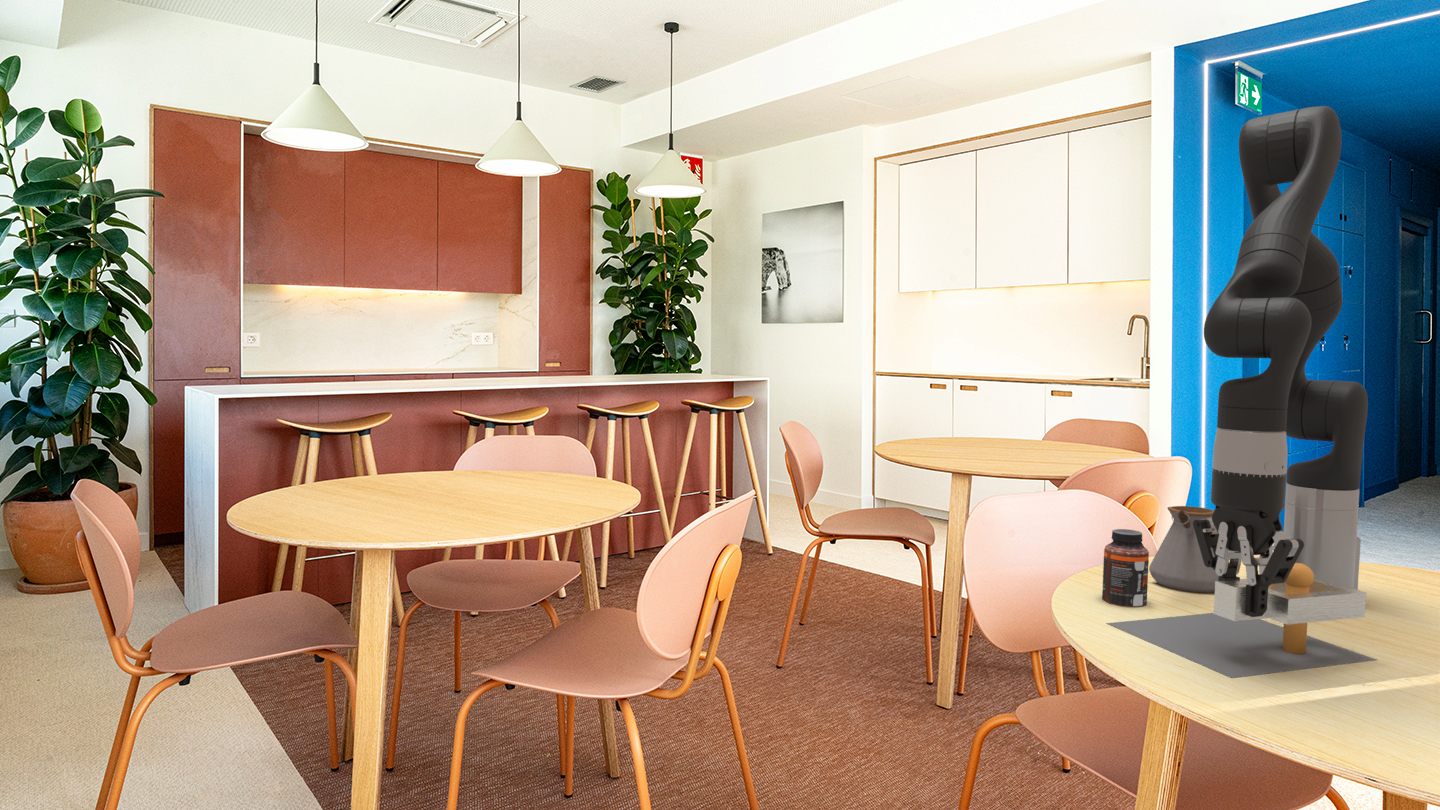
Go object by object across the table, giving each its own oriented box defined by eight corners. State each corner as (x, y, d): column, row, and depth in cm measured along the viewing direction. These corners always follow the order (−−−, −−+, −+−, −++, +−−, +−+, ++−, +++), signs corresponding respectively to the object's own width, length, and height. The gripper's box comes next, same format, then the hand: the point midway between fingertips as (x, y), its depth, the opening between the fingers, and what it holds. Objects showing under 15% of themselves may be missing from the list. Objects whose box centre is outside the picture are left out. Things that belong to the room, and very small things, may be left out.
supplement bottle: (1151, 615, 125) (1155, 536, 124) (1106, 612, 126) (1110, 534, 125) (1140, 603, 131) (1143, 528, 130) (1097, 600, 132) (1100, 526, 131)
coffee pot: (1154, 576, 146) (1158, 487, 145) (1233, 588, 140) (1238, 494, 139) (1131, 608, 128) (1136, 506, 127) (1221, 622, 122) (1227, 515, 121)
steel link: (1303, 598, 113) (1305, 567, 113) (1364, 616, 105) (1366, 584, 105) (1196, 607, 108) (1198, 575, 108) (1253, 627, 100) (1255, 593, 100)
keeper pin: (1292, 645, 110) (1297, 559, 109) (1316, 654, 107) (1321, 565, 106) (1272, 647, 109) (1277, 561, 108) (1295, 656, 106) (1300, 567, 105)
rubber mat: (1235, 617, 124) (1235, 610, 124) (1376, 667, 105) (1377, 659, 105) (1105, 630, 118) (1105, 623, 118) (1231, 686, 99) (1231, 677, 99)
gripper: (1329, 475, 98) (1320, 627, 99) (1224, 459, 112) (1217, 593, 113) (1277, 477, 96) (1268, 632, 97) (1176, 460, 109) (1170, 597, 111)
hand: (1241, 610), depth 105 cm, fingers closed on steel link, 3 cm apart
